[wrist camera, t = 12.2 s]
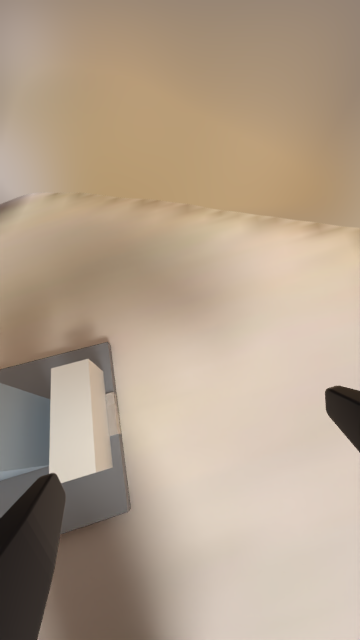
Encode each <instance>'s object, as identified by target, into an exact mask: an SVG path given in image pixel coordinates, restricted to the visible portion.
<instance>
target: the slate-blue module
mask: <svg viewBox="0 0 360 640" xmlns="http://www.w3.org/2000/svg"><path fill="white" fill-rule="evenodd" d="M50 400H51V399H48V398H44V397H41V396H38V395H35V394H32V393H29V392H26V391H23V390H20V389H17V388H14V387H11V386H8V385H5V384H2V383H0V481H2V480H5V479H8V478H11V477H15V476H18V475H21V474H25V473H28V472H31V471H34V470H38V469H41V468H44V467H47V466H49V450H50Z"/></svg>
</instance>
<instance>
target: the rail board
mask: <svg viewBox="0 0 360 640" xmlns="http://www.w3.org/2000/svg"><path fill="white" fill-rule="evenodd" d="M0 383H2V384H5V385H8V386H11V387H14V388H17V389H20V390H23V391H26V392H29V393H32V394H35V395H38V396H41V397H44V398H48V399H51V400H50V450H49V466H47V467H44V468H41V469H38V470H34V471H31V472H28V473H25V474H21V475H18V476H15V477H11V478H8V479H5V480H2V481H0V518H1V517H2V516H3V515H4V514H5V513H6V512H7V511H8V509H9V508H10V507H11V506H12V505H13V504H14V503H15V502H16V501H17V500H18V499H19V498H20V497H21V496H22V495H23V494H24V493H25V491H26V490H27V489H28V488H29V487H30V486H31V485H32V484H33V483H34V482H35V481H36V480H37V479H38V478H39V477H41V476H43V475H46V474H50V473H55V474H57V476H58V478H59V480H60V482H61V484H62V486H63V488H64V490H65V494H66V502H65V508H64V514H63V520H62V526H61V533H60V534H63V533H66V532H69V531H72V530H75V529H78V528H81V527H84V526H87V525H90V524H93V523H96V522H99V521H102V520H105V519H108V518H111V517H114V516H117V515H120V514H123V513H126V512H128V511H129V510H130V509H131V508H130V500H129V491H128V483H127V475H126V467H125V459H124V451H123V443H122V435H121V427H120V418H119V410H118V402H117V394H116V386H115V378H114V370H113V362H112V354H111V346H110V344H109V343H108V342H105V343H102V344H98V345H94V346H90V347H86V348H82V349H78V350H74V351H70V352H67V353H63V354H59V355H55V356H51V357H47V358H43V359H39V360H35V361H32V362H28V363H24V364H20V365H16V366H12V367H8V368H4V369H0Z"/></svg>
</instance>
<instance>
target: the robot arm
mask: <svg viewBox="0 0 360 640" xmlns="http://www.w3.org/2000/svg"><path fill="white" fill-rule="evenodd" d="M325 401H326V411H327V413H328V415H329V417H330V418H331V419H332V420H333V421H334V423H335V424H336V425H337V426H338V427H339V428H340V430H341V431H342V432H343V433H344V434H345V436H346V437H347V438H348V439H349V440H350V441H351V443H352V444H353V445H354V446H355V447H356V448H357V450H358V451H359V452H360V391H358V390H354V389H350V388H346V387H342V386H334V387H331V388H328V389H326V391H325ZM65 502H66V494H65V490H64V488H63V486H62V484H61V482H60V480H59V478H58V476H57V474H55V473H50V474H46V475H43V476H41V477H39V478H38V479H37V480H36V481H35V482H34V483H33V484H32V485H31V486H30V487H29V488H28V489H27V490H26V491H25V493H24V494H23V495H22V496H21V497H20V498H19V499H18V500H17V501H16V502H15V503H14V504H13V505H12V506H11V507H10V508H9V509H8V511H7V512H6V513H5V514H4V515H3V516H2V517H1V518H0V640H37V638H38V634H39V630H40V626H41V622H42V618H43V614H44V609H45V605H46V601H47V597H48V593H49V589H50V585H51V581H52V577H53V572H54V568H55V562H56V557H57V551H58V545H59V539H60V533H61V526H62V520H63V514H64V508H65Z"/></svg>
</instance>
